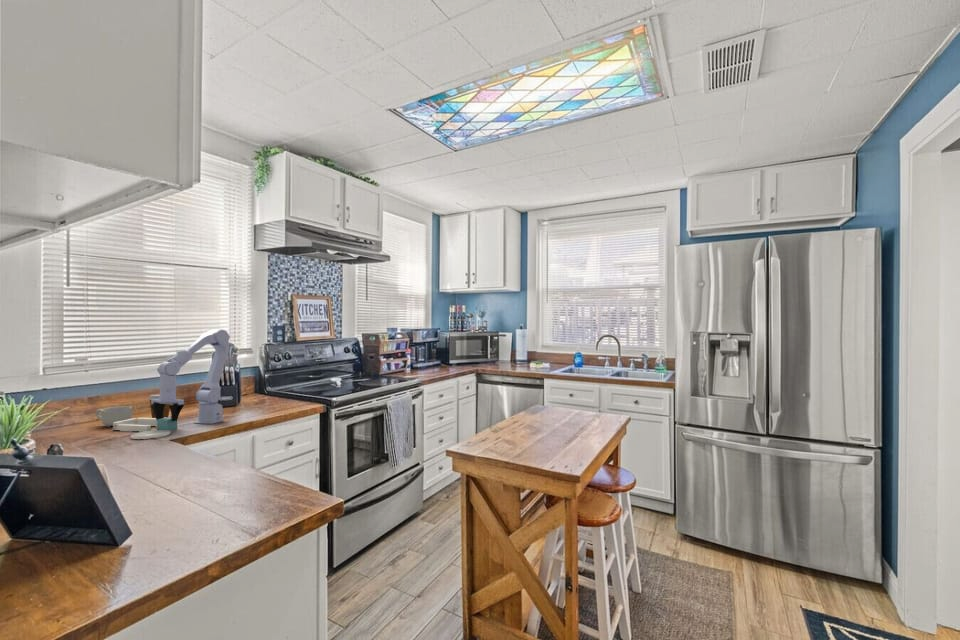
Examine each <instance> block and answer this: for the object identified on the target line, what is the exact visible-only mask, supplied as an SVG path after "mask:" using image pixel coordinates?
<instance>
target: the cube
mask: <svg viewBox="0 0 960 640" xmlns="http://www.w3.org/2000/svg"><path fill="white" fill-rule="evenodd" d="M177 429H178V420H177V421H172V420H171V416H168V417H166V418H162V419H157V427H156V430H169V431H173V430H177Z"/></svg>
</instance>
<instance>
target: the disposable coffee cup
mask: <svg viewBox="0 0 960 640" xmlns="http://www.w3.org/2000/svg"><path fill="white" fill-rule="evenodd" d="M151 399H160V393H156V394H155V393H154V394H150V395H149V397H148V400H149V405H150V414H151V418H156V417H155V414H154V411H153V410H152V408H151V405H153V404H151ZM165 403H170V402H165ZM170 405H172V404H166V405H165V407H164V410H163V418H164V417H170V416H169V415H170V412H171V410H170V407H169V406H170Z"/></svg>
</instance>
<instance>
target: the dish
mask: <svg viewBox="0 0 960 640" xmlns="http://www.w3.org/2000/svg"><path fill="white" fill-rule="evenodd" d="M171 431H172V430H171ZM171 431H169V430H157V429H156V430H155V429H154V430H151V431H145V432H135V433H133V434H131V435H130V438H133V439H143V438H156V439H160V438H165V437H168V436H170V435H171V434H172V433H171Z"/></svg>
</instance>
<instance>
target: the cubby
mask: <svg viewBox="0 0 960 640" xmlns="http://www.w3.org/2000/svg"><path fill="white" fill-rule="evenodd" d="M151 426H156V427H155V428H157V420H156V418H152V417H135V418H134V417H133V418H131V419H128V420H123V421H118V422H113V427H112V431H113V430H120V431H119V432H132V431H139V432H145V431H152V427H151ZM139 432H138V433H139Z"/></svg>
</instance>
